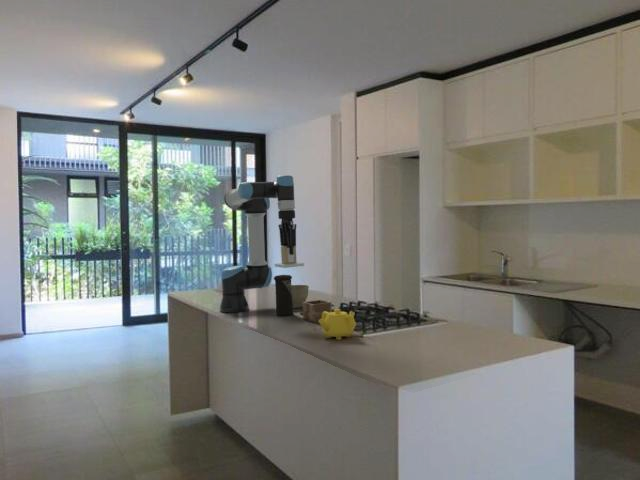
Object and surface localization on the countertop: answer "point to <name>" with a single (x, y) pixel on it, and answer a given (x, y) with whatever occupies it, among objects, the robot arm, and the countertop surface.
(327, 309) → the crate
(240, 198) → the robot arm
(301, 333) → the countertop surface
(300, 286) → the planter bowl
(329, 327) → the yellow rounded knobbed block
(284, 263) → the beige block on base
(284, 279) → the container
